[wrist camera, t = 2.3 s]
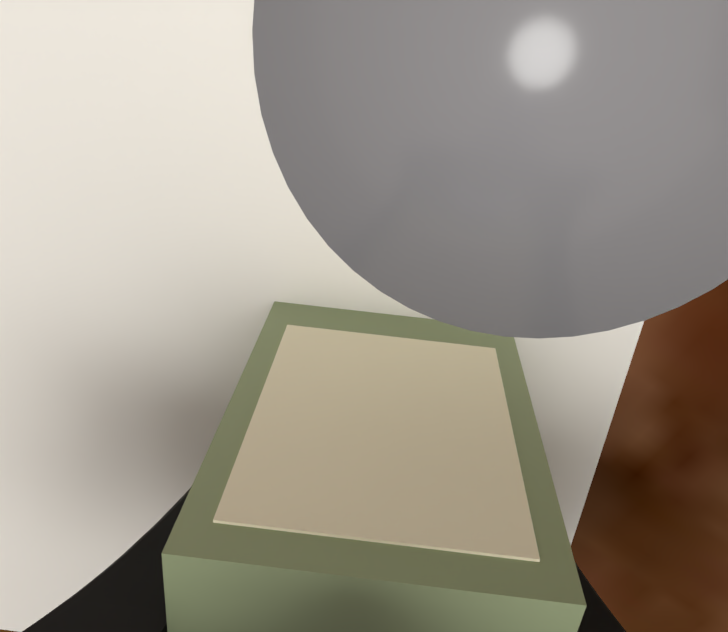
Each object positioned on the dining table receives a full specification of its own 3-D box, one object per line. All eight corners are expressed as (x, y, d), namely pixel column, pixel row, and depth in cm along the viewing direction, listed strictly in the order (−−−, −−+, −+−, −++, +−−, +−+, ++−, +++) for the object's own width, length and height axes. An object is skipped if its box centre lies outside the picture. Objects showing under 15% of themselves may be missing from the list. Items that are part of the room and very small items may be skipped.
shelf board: (517, 666, 17) (534, 779, 15) (-284, 565, 18) (-396, 659, 16) (770, -147, 9) (901, -195, 7) (-729, -289, 10) (-1125, -382, 7)
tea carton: (453, 590, 15) (472, 918, 10) (266, 567, 15) (186, 880, 10) (512, 326, 12) (587, 603, 7) (274, 299, 12) (161, 551, 7)
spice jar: (618, 204, 11) (764, 366, 6) (319, 172, 11) (249, 307, 6) (722, -165, 8) (1069, -332, 4) (341, -201, 9) (257, -401, 4)
